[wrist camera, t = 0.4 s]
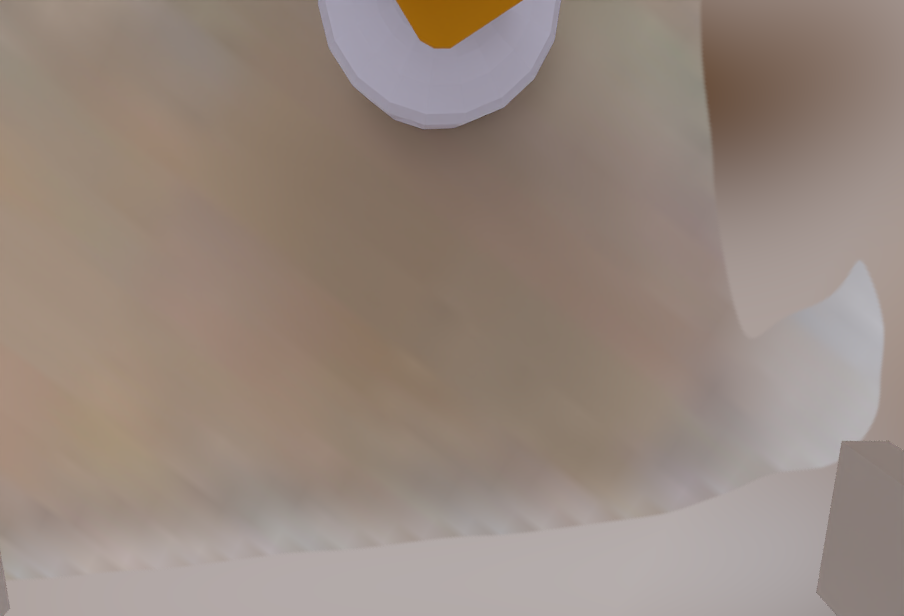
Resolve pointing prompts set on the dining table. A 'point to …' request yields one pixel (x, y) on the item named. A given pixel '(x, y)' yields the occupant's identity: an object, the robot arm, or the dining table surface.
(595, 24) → the dining table surface
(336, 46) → the soap bottle
